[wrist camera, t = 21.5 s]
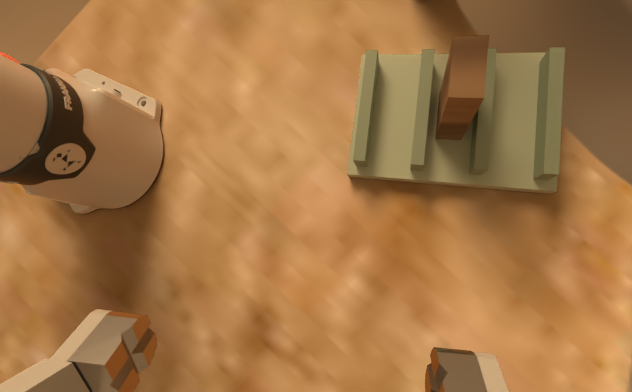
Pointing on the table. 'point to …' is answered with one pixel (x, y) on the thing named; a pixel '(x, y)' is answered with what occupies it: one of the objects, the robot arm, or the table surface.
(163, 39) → the table surface
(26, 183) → the robot arm
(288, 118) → the table surface
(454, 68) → the block
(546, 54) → the rack
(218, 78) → the table surface
